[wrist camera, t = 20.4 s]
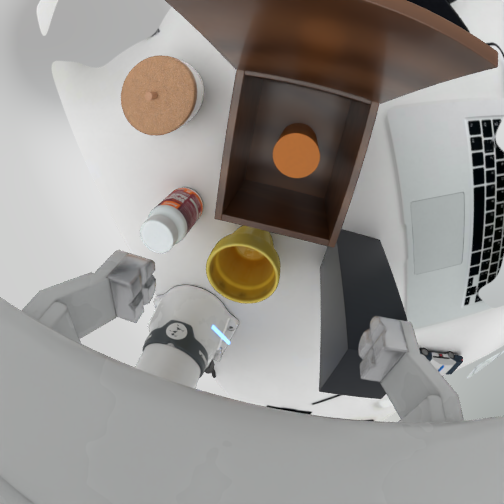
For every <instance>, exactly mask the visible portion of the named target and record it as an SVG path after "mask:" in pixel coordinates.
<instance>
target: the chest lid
mask: <svg viewBox="0 0 504 504" xmlns="http://www.w3.org/2000/svg"><path fill="white" fill-rule="evenodd" d="M165 1H166V2H167V3H168V4H170V5H171V6H172V7H173V8H174V9H175V10H176V11H177V12H179V13H180V14H181V15H182V16H183V17H184V18H185V19H186V20H187V21H188V22H189V23H190V24H191V25H193V26H194V27H195V28H196V29H197V30H198V31H199V32H200V33H201V34H202V35H203V36H204V37H205V38H206V39H207V40H208V41H209V42H210V43H211V44H212V45H213V46H214V47H215V48H216V49H217V50H218V51H219V52H220V53H221V54H222V55H223V56H224V58H225V59H226V60H227V61H228V62H229V63H230V64H231V65H232V66H233V67H234V68H235V69H237V70H244V71H251V72H258V73H264V74H270V75H275V76H281V77H286V78H291V79H296V80H300V81H305V82H309V83H313V84H317V85H321V86H325V87H329V88H332V89H336V90H339V91H343V92H346V93H350V94H353V95H356V96H359V97H362V98H365V99H368V100H371V101H374V102H377V103H380V104H381V103H384V102H387V101H389V100H392V99H395V98H398V97H400V96H403V95H406V94H409V93H412V92H415V91H417V90H420V89H423V88H426V87H429V86H433V85H436V84H439V83H442V82H445V81H449V80H452V79H455V78H459V77H462V76H466V75H469V74H473V73H477V72H481V71H484V70H488V69H493V68H497V67H498V52H497V51H496V50H494V49H493V48H492V47H490V46H489V45H487V44H486V43H484V42H483V41H481V40H480V39H478V38H477V37H475V36H474V35H472V34H470V33H469V32H467V31H465V30H464V29H462V28H460V27H459V26H457V25H455V24H453V23H452V22H450V21H448V20H446V19H444V18H442V17H441V16H439V15H437V14H435V13H433V12H431V11H429V10H426V9H424V8H422V7H420V6H418V5H416V4H413V3H411V2H409V1H406V0H165Z"/></svg>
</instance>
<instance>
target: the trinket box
mask: <svg viewBox="0 0 504 504" xmlns="http://www.w3.org/2000/svg"><path fill="white" fill-rule="evenodd" d="M203 98H204V85H203V82H202V79H201V77H200V75H199V74H198V72H197V71H196V70H195V69H194V68H193V67H192V66H191V65H189V64H188V63H186V62H184V61H182V60H179V59H176V58H173V57H169V56H153V57H150V58H147V59H145V60H143V61H141V62H140V63H138V64H137V65H136V66H135V67H134V68H133V69H132V70H131V71H130V72H129V74H128V75H127V77H126V79H125V81H124V84H123V87H122V92H121V104H122V109H123V112H124V114H125V117H126V118H127V120H128V122H129V123H130V124H131V125H132V126H133V127H134V128H135V129H137V130H138V131H140V132H142V133H145V134H148V135H164V134H167V133H170V132H172V131H174V130H176V129H178V128H179V127H181V126H183V125H184V124H186V123H187V122H189V121H190V120H191V119H192V118H193V117H194V116H195V114H196V113H197V112H198V110H199V109H200V107H201V104H202V102H203Z"/></svg>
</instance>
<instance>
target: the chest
mask: <svg viewBox="0 0 504 504" xmlns="http://www.w3.org/2000/svg"><path fill="white" fill-rule="evenodd" d="M378 107H379V103H377V102H374V101H371V100H368V99H365V98H362V97H359V96H356V95H353V94H350V93H346V92H343V91H339V90H336V89H332V88H329V87H325V86H321V85H317V84H313V83H309V82H305V81H300V80H296V79H291V78H286V77H281V76H275V75H270V74H264V73H258V72H251V71H244V70H237V71H236V77H235V82H234V88H233V94H232V100H231V106H230V112H229V118H228V125H227V131H226V138H225V144H224V151H223V158H222V165H221V172H220V180H219V187H218V195H217V203H216V211H215V219H218V220H222V221H226V222H231V223H235V224H239V225H243V226H248V227H252V228H256V229H260V230H264V231H269V232H273V233H277V234H281V235H285V236H289V237H293V238H297V239H301V240H305V241H309V242H313V243H317V244H321V245H325V246H329V247H333V248H334V247H335V244H336V242H337V239H338V236H339V233H340V231H341V228H342V225H343V222H344V219H345V216H346V214H347V211H348V208H349V205H350V202H351V199H352V196H353V193H354V190H355V187H356V183H357V180H358V177H359V174H360V171H361V168H362V164H363V161H364V158H365V154H366V151H367V147H368V144H369V140H370V137H371V133H372V130H373V126H374V122H375V119H376V115H377V111H378ZM293 123H303V124H306V125H308V126H309V127H311V128H312V129H313V131H314V132H315V134H316V137H317V142H318V147H319V151H320V161H319V164H318V166H317V168H316V170H315V171H314V172H313V173H311V174H310V175H308V176H306V177H303V178H292V177H288V176H286V175H284V174H283V173H281V172H280V171H279V170H278V168H277V167H276V165H275V163H274V160H273V149H274V146H275V144H276V142H277V141H278V139H279V137H280V135H281V134H282V132H283V130H284V129H285V128H286V127H287V126H289V125H291V124H293Z"/></svg>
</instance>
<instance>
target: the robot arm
mask: <svg viewBox="0 0 504 504" xmlns="http://www.w3.org/2000/svg"><path fill="white" fill-rule="evenodd" d="M154 271H155V262H154V261H153V260H150V259H147V258H144V257H140V256H137V255H134V254H131V253H127V252H124V251H121V250H117V251H115V252H114V253H113V255H111V256H110V257H109V258H108V259H107V260H106V261H105V263H104V264H103V265H102V266H101V267H100V268H99V269H98V270H97V271H96V272H95V273H88V274H85V275H82V276H79V277H77V278H74V279H71V280H68V281H65V282H63V283H60V284H57V285H54V286H52V287H49V288H47V289H44V290H41V291H39V292H38V293H37V294H36V295H35V297H34V298H33V299H32V300H31V301H30V302H29V303H28V304H27V305H26V306H25V307H24V308H23V310H22V311H21V310H19V309H18V308H16V307H14V306H13V305H11V304H10V303H8V302H7V301H5V300H4V299H2V298H1V297H0V504H504V416H498V417H491V418H484V419H475V420H464V419H463V414H462V410H461V405H460V401H459V397H458V394H457V393H456V392H455V391H454V390H453V388H452V387H451V386H450V385H449V383H448V382H447V381H446V380H445V379H444V378H443V376H442V375H441V374H440V373H439V372H438V371H437V369H436V368H435V367H434V366H433V365H432V364H431V362H430V361H429V360H428V359H427V358H426V357H425V356H424V355H422V354H420V350H419V347H418V343H417V339H416V336H415V332H414V329H413V326H412V324H411V322H408V321H403V320H395V319H390V318H385V317H380V316H374V317H373V318H372V320H371V321H370V328H369V329H367V330H366V331H364V333H363V335H362V336H361V339H360V342H359V348H358V351H359V356H360V357H361V358H362V362H361V363H360V375H361V379H365V380H371V381H378V382H380V384H381V385H382V387H383V389H384V390H385V392H386V394H387V396H388V397H389V399H390V401H391V402H392V404H393V406H394V408H395V409H396V411H397V413H398V415H399V416H400V418H401V420H400V421H399V422H377V421H362V420H350V419H340V418H331V417H323V416H316V415H309V414H302V413H296V412H290V411H285V410H279V409H274V408H269V407H264V406H259V405H255V404H250V403H246V402H242V401H238V400H234V399H230V398H226V397H222V396H219V395H215V394H211V393H208V392H204V391H201V390H198V389H195V388H196V385H197V382H198V379H199V378H200V377H201V376H202V375H203V373H204V372H206V373H212V376H213V378H215V377H216V376H215V371H214V369H213V367H214V362H213V360H212V359H214V360H216V361H220V360H221V357H222V354H223V352H224V350H225V349H226V347H227V345H229V344H230V340H231V338H232V336H233V334H234V332H235V330H236V329H237V327H238V325H239V321H238V320H237V319H236V318H235V317H234V316H232V315H231V314H230V313H229V312H228V311H227V309H226V308H225V306H224V305H223V303H222V302H221V301H220V300H219V299H218V298H217V297H216V296H214V295H213V294H211V293H210V292H208V291H206V290H204V289H202V288H199V287H195V286H190V285H181V286H176V287H174V288H172V289H170V290H169V291H168V292H167V293H166V294H164V295H160V296H157V297H156V298H155V300H154V305H155V308H156V309H155V311H154V313H153V315H152V317H151V319H150V322H149V324H148V328H149V332H150V335H149V336H148V337H147V339H146V341H145V344H144V346H143V353H142V355H141V357H140V358H139V360H138V362H137V364H136V366H135V367H132V366H130V365H127V364H125V363H122V362H120V361H117V360H115V359H113V358H111V357H108V356H106V355H104V354H102V353H99V352H97V351H95V350H92V349H91V348H89V347H86V346H84V345H82V344H81V342H80V338H82V337H84V336H85V335H87V334H89V333H90V332H92V331H94V330H96V329H97V328H99V327H101V326H103V325H104V324H106V323H108V322H109V321H111V320H113V319H115V318H116V316H117V317H120V318H122V319H125V320H129V321H131V322H134V323H137V321H138V319H139V318H140V316H141V315H142V313H143V312H144V307H143V305H146V304H148V303H150V301H151V299H152V298H153V295H154V292H155V287H156V279H155V278H154V276H153V275H152V274H153V272H154Z"/></svg>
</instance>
